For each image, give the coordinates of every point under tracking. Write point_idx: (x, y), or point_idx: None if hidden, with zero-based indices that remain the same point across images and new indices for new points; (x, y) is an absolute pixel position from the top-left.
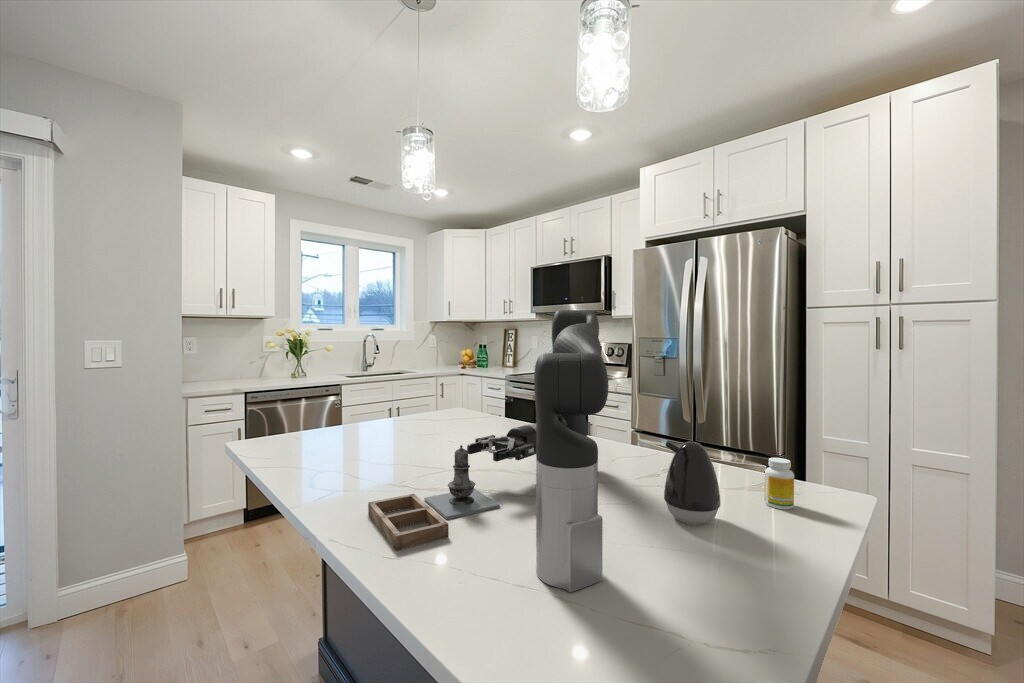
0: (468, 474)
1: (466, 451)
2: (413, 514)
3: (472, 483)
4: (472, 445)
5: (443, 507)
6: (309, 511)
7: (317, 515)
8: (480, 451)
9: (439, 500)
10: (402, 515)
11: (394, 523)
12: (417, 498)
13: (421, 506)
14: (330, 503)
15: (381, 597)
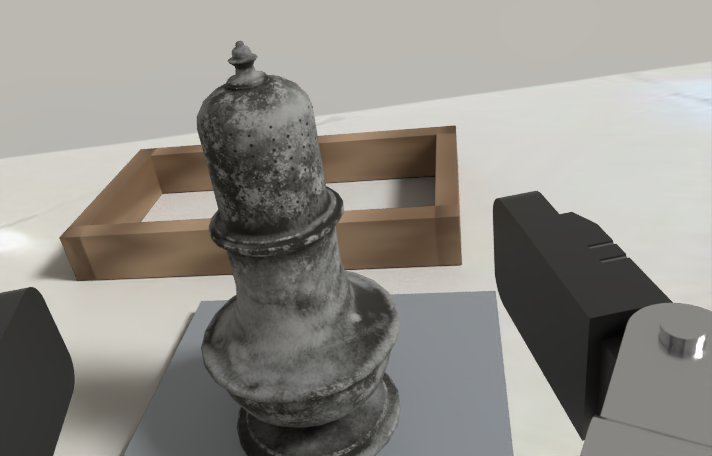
0: (247, 295)
1: (204, 111)
2: None
3: (236, 366)
4: (512, 230)
5: None
6: (577, 92)
7: (531, 101)
8: (579, 429)
9: (408, 329)
10: None
11: None
12: (385, 216)
13: None
14: (632, 115)
15: (20, 158)
